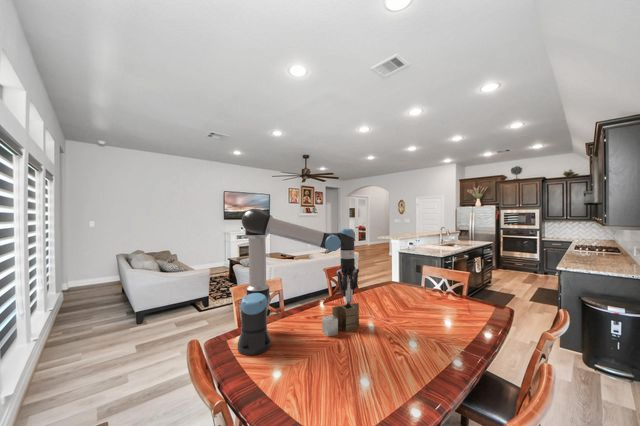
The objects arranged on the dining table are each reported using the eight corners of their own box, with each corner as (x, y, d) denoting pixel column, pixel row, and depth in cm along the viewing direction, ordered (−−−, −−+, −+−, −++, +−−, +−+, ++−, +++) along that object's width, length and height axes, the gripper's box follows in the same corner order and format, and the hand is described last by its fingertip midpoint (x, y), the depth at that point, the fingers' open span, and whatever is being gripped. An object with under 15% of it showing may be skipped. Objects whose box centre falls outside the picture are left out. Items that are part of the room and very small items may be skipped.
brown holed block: (346, 332, 137) (346, 309, 137) (340, 327, 143) (340, 305, 143) (364, 328, 142) (364, 306, 142) (358, 324, 148) (357, 302, 148)
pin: (347, 311, 139) (346, 279, 139) (343, 309, 142) (343, 278, 142) (352, 310, 141) (352, 279, 141) (349, 308, 144) (348, 277, 144)
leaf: (327, 336, 133) (327, 312, 133) (322, 331, 138) (321, 308, 139) (356, 330, 140) (356, 307, 140) (350, 325, 146) (350, 303, 146)
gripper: (338, 260, 135) (338, 306, 135) (363, 257, 141) (364, 301, 141) (331, 257, 142) (331, 301, 142) (356, 255, 148) (356, 297, 148)
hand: (348, 301), depth 142 cm, fingers closed on pin, 2 cm apart
